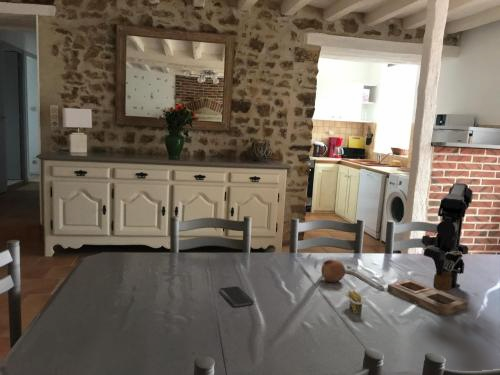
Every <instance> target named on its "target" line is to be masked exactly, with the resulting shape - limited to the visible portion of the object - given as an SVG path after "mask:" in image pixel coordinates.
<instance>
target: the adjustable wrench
mask: <svg viewBox="0 0 500 375" xmlns="http://www.w3.org/2000/svg"><path fill="white" fill-rule="evenodd" d="M344 267H345V266H344ZM345 274H350V275H354V276H355V277H357V278H359V279H360V280H362V281H363V282H365V283H367V284H369V285H370V286H372V287H374V288H375V289H377V290H380V291H384V289H385V286H383V285H382V284H380V283H379V282H377V281H375V280H373V279H372V278H370V277H368V276H366V275H365V274H363V273H361V272H360V271H359V270H358V269H357V267H355V266H353V265H346V267H345Z"/></svg>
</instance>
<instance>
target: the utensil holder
mask: <svg viewBox="0 0 500 375" xmlns="http://www.w3.org/2000/svg"><path fill="white" fill-rule="evenodd" d="M447 263H448V262H447ZM451 263H452V261H451ZM453 264H454V262H453ZM451 275H452V270H449V269H447V268H446V269H445V268H444V269H443V272H442V273H441V275H437V271H436V270H435V274H434V277H433V283H432V285H433V287H432V288H434V289H437V290H439V291H442V292H450V291H451V290H452V288H451V285H452V276H451Z"/></svg>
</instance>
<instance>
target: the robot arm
mask: <svg viewBox="0 0 500 375" xmlns="http://www.w3.org/2000/svg"><path fill="white" fill-rule="evenodd" d="M473 196H474V192H473V190H472V189H471V188H469V186H468V184H466V183H460V182H454V183H452V186H451V187H449V190H448V194H445V195H443V198H441V200H440V203H439V206H438V207H439V208H438V211H437V212H438V213H437V216H438V217H441V220H440V222H439V223H438V224H437V226H436V231H437V233H436V235H435V236H430V235H422V237H421V244H422V245H424V247H426V248H425V249H423V256H424V257H428V258H430V259H432V260H433V262H434V265H435V272H436V271H437V275H441V273H442V272H443V269H444V268H445V269H446V268H447V269H449V270H452V275H451V276H452V285H451V289H453V288H456V287H457V288H458V287H460V286H461V284H459V283H457V282H458V277H459V276H458V274H459V275H461V274H464V273H465V262H464V259H463V257H464V256H463V255H468V254H469V247H468V246H467V245H465V244H463V243H462V244H461V243H460V242H461V236H462V230H463V229H462V228H463V222H464V218H465V216H466V211H467V210H468V209H469V207H470V204H472V203H473ZM451 261H452V263H451ZM447 262H448V263H447ZM453 262H454V264H453Z"/></svg>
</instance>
